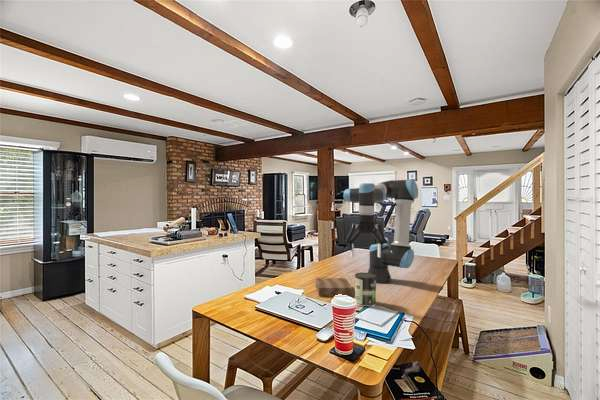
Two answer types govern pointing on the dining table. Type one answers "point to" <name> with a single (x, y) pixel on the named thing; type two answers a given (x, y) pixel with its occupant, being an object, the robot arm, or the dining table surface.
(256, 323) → the dining table surface
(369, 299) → the coffee can
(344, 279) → the walnut block
